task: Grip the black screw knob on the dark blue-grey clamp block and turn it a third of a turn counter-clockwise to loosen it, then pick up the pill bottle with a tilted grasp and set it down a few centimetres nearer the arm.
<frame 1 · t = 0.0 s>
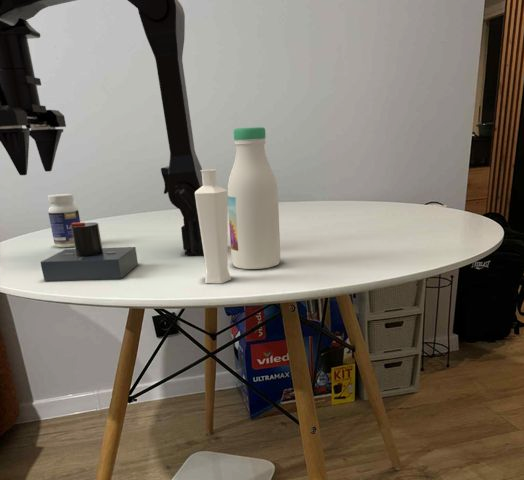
hand: (36, 173, 87), 15 cm above the table, tool pointing down, fingers open, 9 cm apart
clamp knob: (87, 238, 78), point 5 cm above the table, hinge at 0.0°
clamp block: (93, 272, 80), on the table
perfume bottle: (217, 281, 72), on the table
milk bottle: (256, 265, 80), on the table
pill bottle: (70, 246, 103), on the table
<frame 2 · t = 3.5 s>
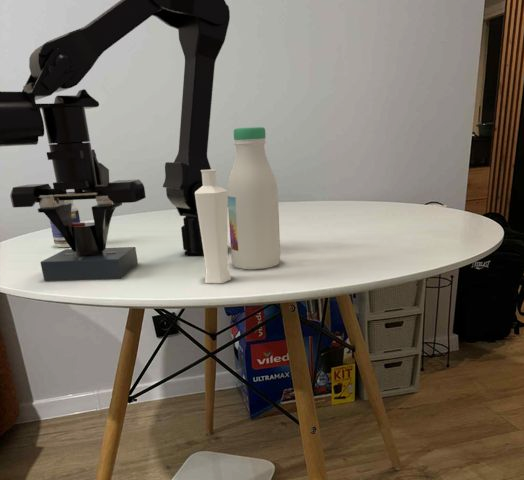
hand: (89, 250, 79), 4 cm above the table, tool pointing down, fingers closed on clamp knob, 4 cm apart
clamp knob: (87, 238, 78), point 5 cm above the table, hinge at 0.0°, touching gripper
everything else where it was.
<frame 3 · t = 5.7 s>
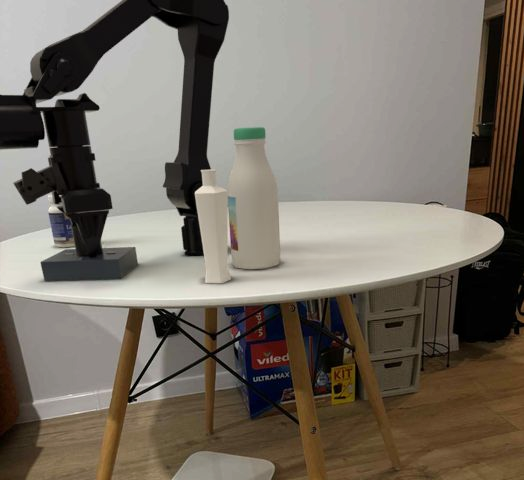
hand: (89, 254, 78), 3 cm above the table, tool pointing down, fingers open, 6 cm apart
clamp knob: (87, 238, 78), point 5 cm above the table, hinge at 120.1°
everything else where it was.
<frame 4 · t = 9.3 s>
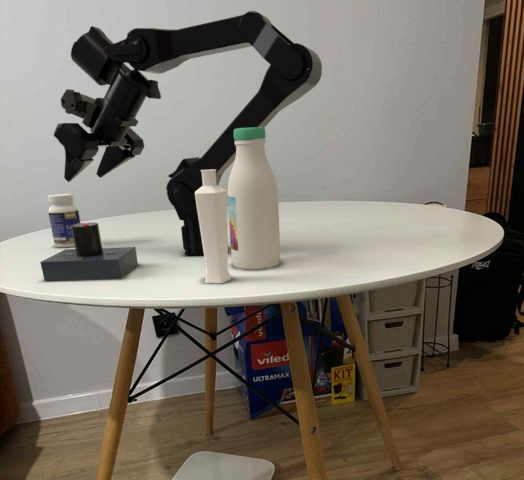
hand: (83, 177, 93), 13 cm above the table, tool tilted 40°, fingers open, 9 cm apart
nothing on the table moved.
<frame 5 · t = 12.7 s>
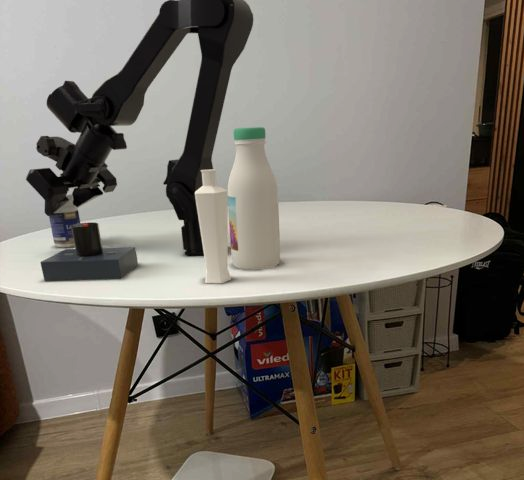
hand: (58, 212, 101), 7 cm above the table, tool tilted 45°, fingers closed on pill bottle, 6 cm apart
pill bottle: (70, 246, 103), on the table, touching gripper
everything else where it was.
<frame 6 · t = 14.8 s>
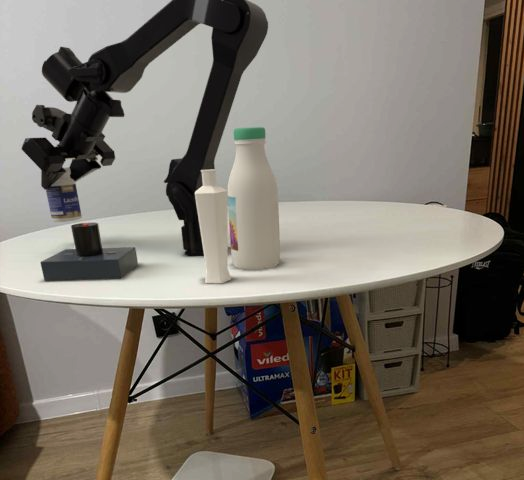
hand: (55, 186, 99), 12 cm above the table, tool tilted 45°, fingers closed on pill bottle, 6 cm apart
pill bottle: (67, 221, 101), point 5 cm above the table, touching gripper
everything else where it was.
when the fingers open (7 cm above the table, at t = 17.0 s): pill bottle stays where it is, on the table.
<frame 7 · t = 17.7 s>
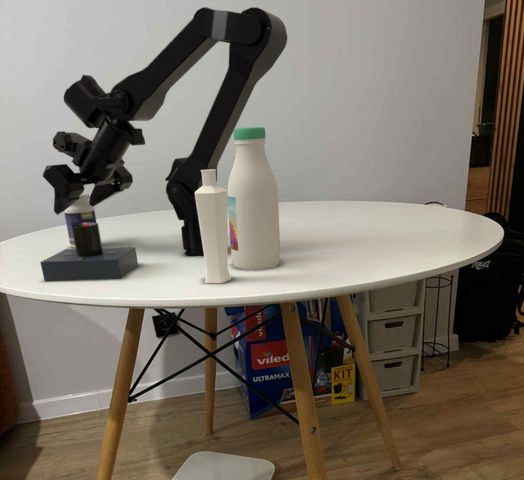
hand: (73, 209, 99), 7 cm above the table, tool tilted 45°, fingers open, 9 cm apart
pill bottle: (85, 246, 101), on the table
everything else where it was.
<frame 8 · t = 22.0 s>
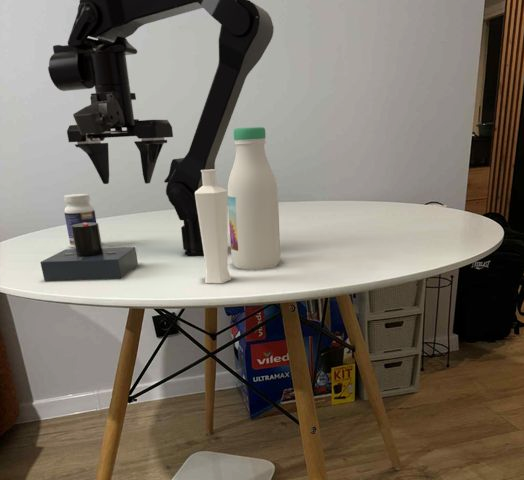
hand: (126, 183, 91), 12 cm above the table, tool pointing down, fingers open, 9 cm apart
nothing on the table moved.
at the end: clamp knob at +120° (first picture: +0°); pill bottle inside the target area (1.2 cm from its centre), on the table; pill bottle tilted 0° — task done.
